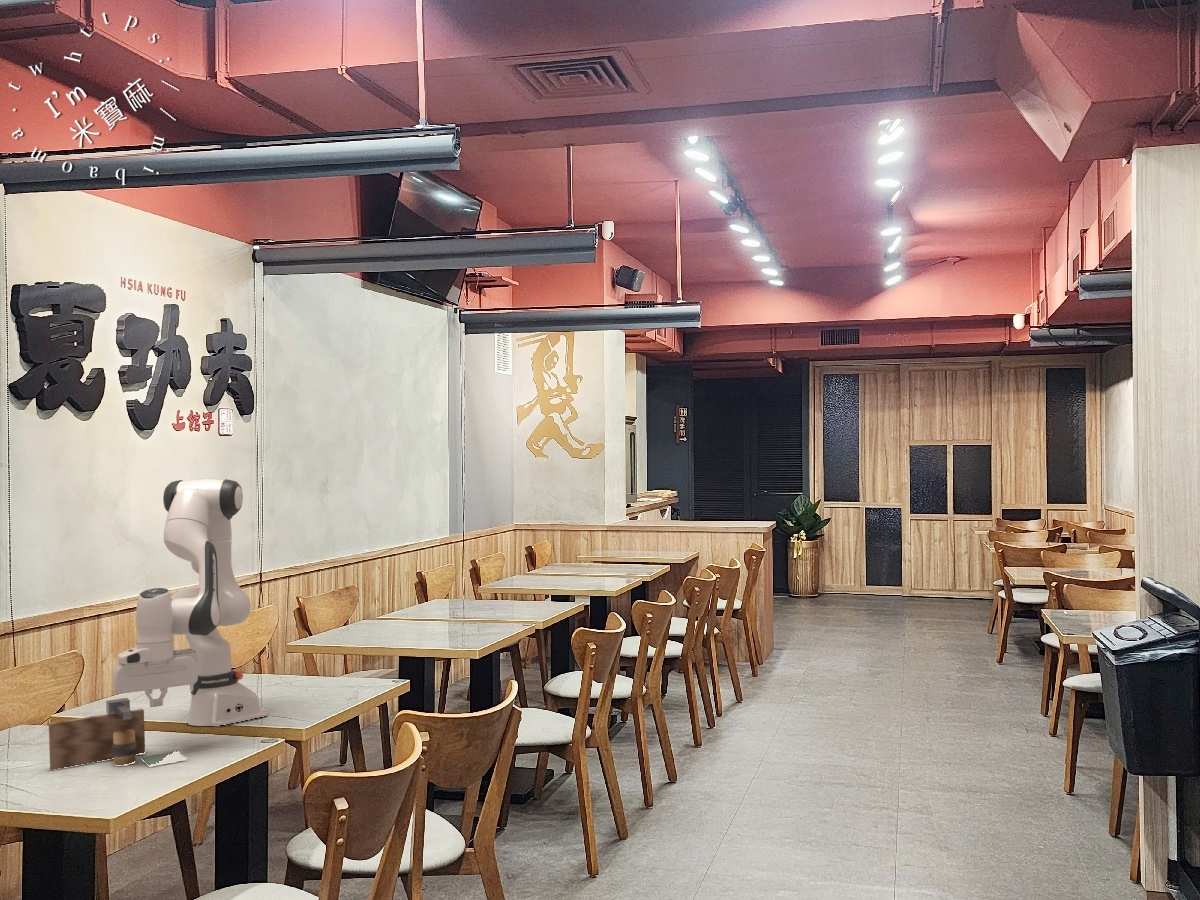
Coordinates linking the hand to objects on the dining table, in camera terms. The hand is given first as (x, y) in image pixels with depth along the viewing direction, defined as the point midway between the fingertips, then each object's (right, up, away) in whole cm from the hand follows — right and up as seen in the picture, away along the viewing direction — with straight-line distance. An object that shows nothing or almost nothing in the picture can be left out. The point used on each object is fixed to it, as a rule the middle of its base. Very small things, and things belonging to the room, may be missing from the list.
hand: (156, 706), depth 273 cm
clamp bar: (-8, -2, -3) cm, 8 cm away
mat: (+3, -13, -3) cm, 14 cm away
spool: (-6, -14, -4) cm, 16 cm away
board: (-14, -14, -2) cm, 20 cm away
